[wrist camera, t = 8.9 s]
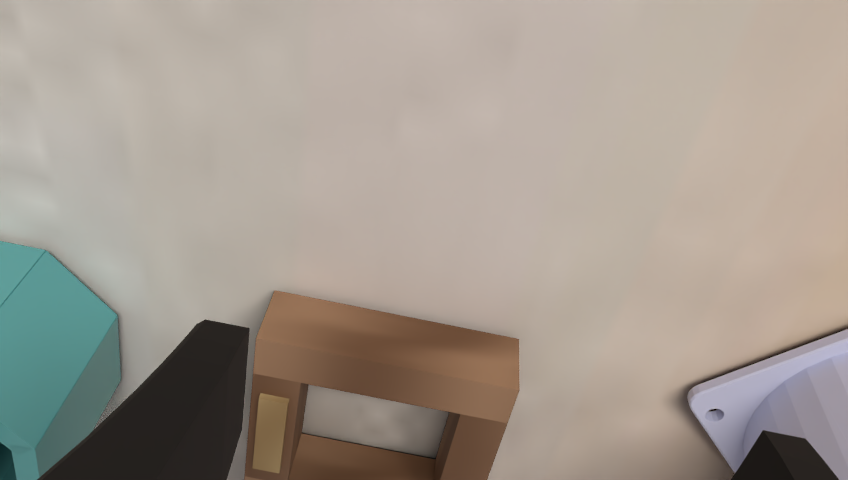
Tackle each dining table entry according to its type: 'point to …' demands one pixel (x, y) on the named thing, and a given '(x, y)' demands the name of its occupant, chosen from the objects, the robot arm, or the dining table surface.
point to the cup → (50, 361)
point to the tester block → (375, 390)
